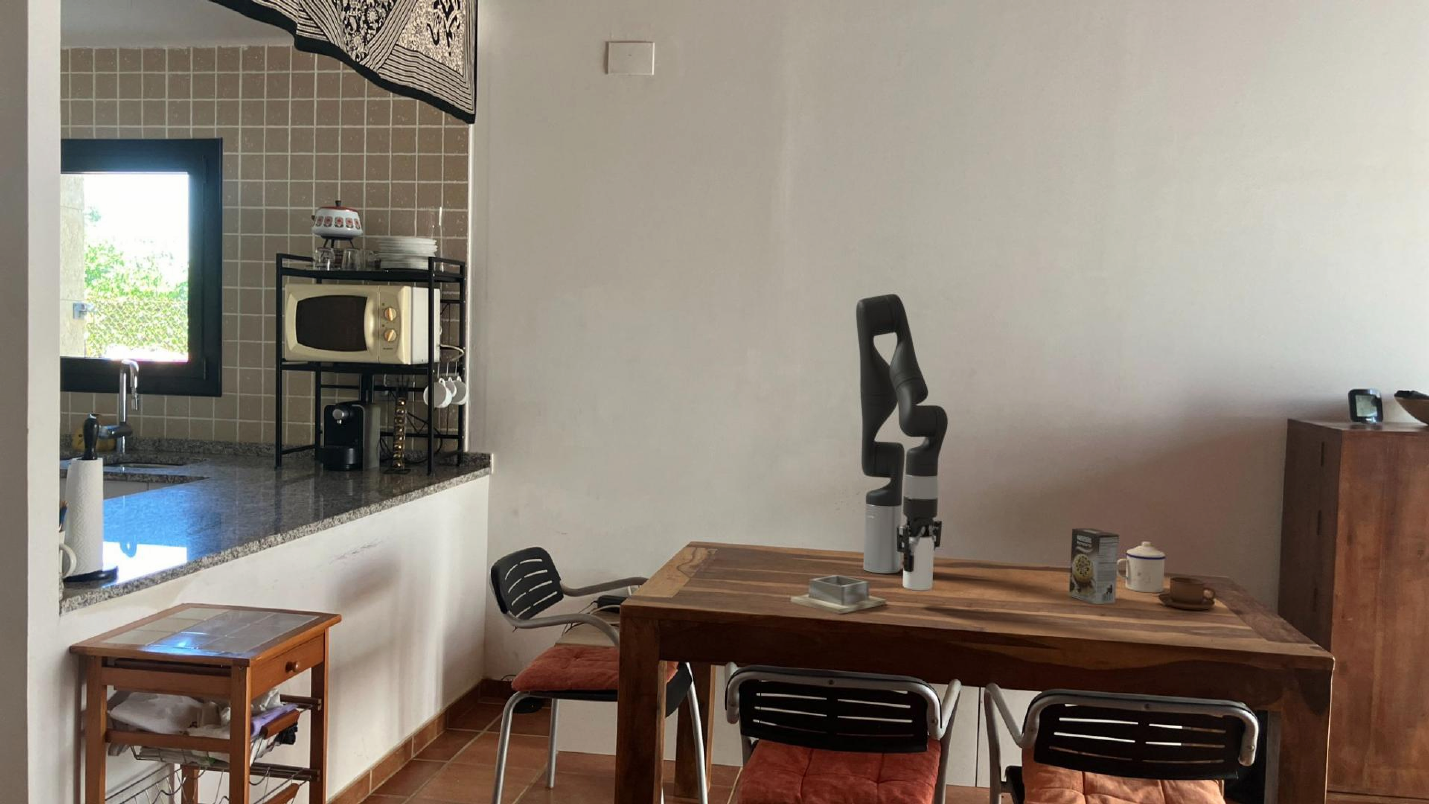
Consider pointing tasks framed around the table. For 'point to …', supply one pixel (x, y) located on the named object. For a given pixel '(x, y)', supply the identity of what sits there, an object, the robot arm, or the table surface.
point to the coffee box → (1093, 565)
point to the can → (921, 566)
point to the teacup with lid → (1144, 569)
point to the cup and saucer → (1188, 594)
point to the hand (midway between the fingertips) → (918, 569)
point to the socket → (838, 595)
